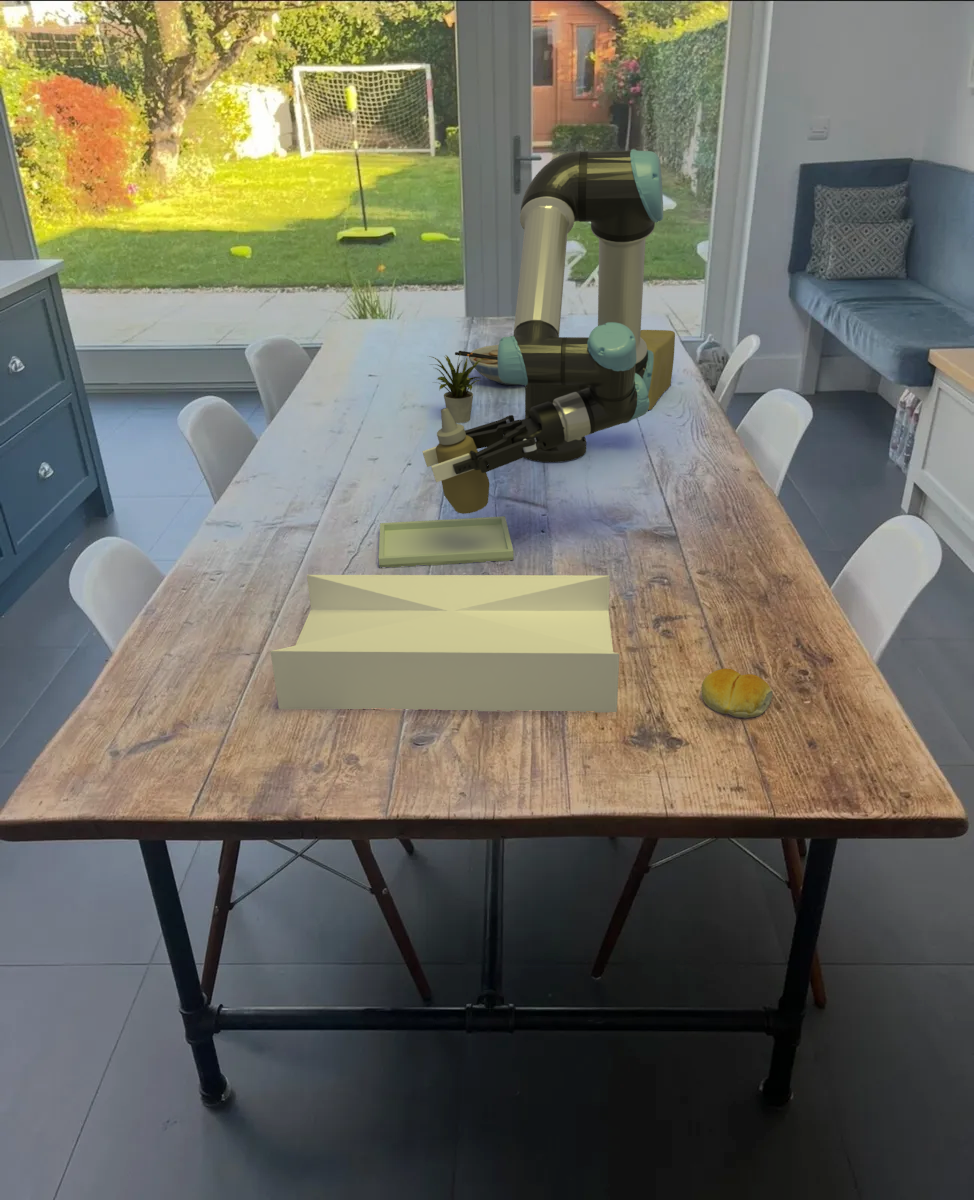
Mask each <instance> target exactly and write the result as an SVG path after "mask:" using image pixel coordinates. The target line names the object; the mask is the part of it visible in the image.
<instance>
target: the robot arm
mask: <svg viewBox="0 0 974 1200" xmlns="http://www.w3.org/2000/svg"><path fill="white" fill-rule="evenodd" d="M662 180H663V177H662V166H661V160H660V157H659V155H658V154H657V153H656V152H654V151H651V150H637V149H634V148H633V149H631V150H597V151H595V150H593V151H592V150H590V151H589V150H587V151H581V150H574V151H569V152H566V153H562V154H560V155H558V156H556V157H555V158H553V159H552V160H550V161H549V162H548V163H546V164H545V165H544V166H543V167H542V168H540V170H539V171H538V173H537V174H535V176H534V178H533V179H531V181H530V183H529V185H528V186H527V189H526V190H525V193H524V195H523V197H522V200H521V205H520V213H519V222H520V226H521V227H522V229H523V231H524V232H523V239H522V240H523V241H522V250H521V258H520V267H519V268H520V269H519V279H518V286H517V287H518V289H517V297H516V307H515V313H514V315H515V317H514V326H513V335H509V336H503V337H502V338H500V340H499V342H498V344H497V345H498V374H499V378H500V380H501V381H502V382H504V383H509V384H517V385H522V386H524V403H525V404H524V418H522V419H515V418H514V415H513V414H510V415H508V416H505V417H503V418H501V419H498V420H495V421H492V422H488V423H484V424H482V425H479V426H475V427H472V428H468V429H465V433H466V435H467V436H470V437H471V438H473V440H474V443H475V445H476V448H477V450H478V449H481V450H478V452H477V453H476V452H474V451H472V450H471V451H470V455H471V458H470V455H469V453H467V454H465V455H462V456H459V457H456V458H453V459H450V460H447V461H444V462H441V463H439V464H438V460H437V454H436V447H437V445H436V446H434V447H431V448H428V449H425V450H422V455H423V458H424V462H425V466H426V467H427V468H429V467H431V470H432V473H433V477H434V480H435V483H439V482H442V480H445V479H448V478H451V477H454V476H456V475H459V474H462V473H465V472H468V471H471V470H474V469H475V470H481V473H486V474H487V472H491V471H493V470H496V469H498V468H501V467H503V466H507V465H508V464H511V463H513V462H517V461H519V460H521V459H523V458H524V459H526V460H529V461H534V462H540V463H562V462H568V461H574V460H576V459H579V458H581V457H583V456H584V455H585V454H586V453H587V439H586V436H589V435H592V434H595V433H597V432H599V431H603V430H606V429H610V428H612V427H615V426H619V425H622V424H628V423H630V422H631V421H633V420H636V419H638V418H640V417H642V416H645V415H646V414H647V413H648V412H649V411H648V409H649V398H648V394H649V389H650V384H651V376H652V371H653V362H654V355H653V352H652V351H650V350H648V349H647V345H646V343H645V341H644V340H643V339H642V338H641V337H640V334H641V330H642V315H643V314H642V313H643V312H642V311H643V310H642V309H643V295H644V294H643V293H644V291H643V290H644V274H645V253H646V239H647V238H648V237H650V236H651V234H652V233H653V232H654V229H655V224H656V223H658V222H660V221H662V220H663V218H664V200H663V199H664V198H663V181H662ZM575 222H579V223H584V222H585V223H587V222H588V223H590V230H591V232H592V234H593V235H594V236H595V237H596V238H597V239H598V280H597V281H598V282H597V283H598V284H597V285H598V286H597V287H598V291H597V293H598V294H597V295H598V297H597V326H596V327H594V328H593V329H592V330H591V332H590V334H589V336H588V337H584V336H583V337H582V336H577V337H575V336H574V337H573V336H571V337H569V336H566V337H565V336H564V337H563V336H562V337H561V336H560V330H561V329H560V328H561V316H562V305H563V291H564V280H565V278H564V277H565V269H566V257H567V244H568V243H567V241H568V234H569V233H570V232H571V231H572V228H573V227H574V224H575Z"/></svg>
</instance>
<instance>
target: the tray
mask: <svg viewBox="0 0 974 1200" xmlns="http://www.w3.org/2000/svg"><path fill="white" fill-rule="evenodd" d="M378 539H379V543H378V566H379V567H392V568H402V567H401V566H410V567H417V566H416V565H427V566H442V565H458V564H459V563H462V564H474V563H473V562H479V563H487V562H486V561H496V562H509V560H515V559H514V549H513V544H512V540H511V535H510V531H509V526H508V522H507V519H506V516H503V515H501V516H488V517H485V516H484V517H469V518H448V519H435V520H434V519H433V520H416V521H415V520H414V521H413V520H412V521H398V522H397V521H394V522H392V521H391V522H381V523H379V538H378ZM459 565H460V564H459Z"/></svg>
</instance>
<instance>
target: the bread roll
mask: <svg viewBox="0 0 974 1200" xmlns="http://www.w3.org/2000/svg"><path fill="white" fill-rule="evenodd" d="M700 692H701V697H702V699H703V701H704V703H705V705H706V706H708V707H709V708H710V709H711V710H713V711H714V712H717V713H719V714H729V715H731V716H732V717H733V718H734V717H735V718H741V719H742V718H744V719H749V718H756V717H758V716H761V715H763V713H765V711H766V710H767V709H768V707H769V705H770V703H771V701H772V697H773V690H772V689H771V686H770V685H769V683H768V682H766V681H765V680H764V679H763V678H762V677H760V676H758V675H755V674H751V673H747V674H741V673H739V672H738V671H737V670H734V669H732V668H725V667H724V668H720V669H716V670H714V671H712V672H711V673H709V674H708V675H707V676H706V677H705V678H704V679H703V681H702V683H701V691H700Z"/></svg>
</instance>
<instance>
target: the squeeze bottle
mask: <svg viewBox="0 0 974 1200" xmlns="http://www.w3.org/2000/svg"><path fill="white" fill-rule="evenodd" d="M440 417H441V420H440V421H441V428H440V429H439V430H438V431H437V432H436V437H437V441H438V444H437V445H436V446H437V447H436V446H435V447H436V454H437V460H438V464H439V463H441V462H444V461H447V460H450V459H453V458H456V457H459V456H462V455H465V454H467V453H469V455H470V451H471V450H472V451H474V452H476V453H477V452H479V450H478V449H477V448H476V445H475V443H474V440H473V438H471V437H470V436H467V435H466V433H465V430H466V429H465V426H464V425H462V423H455V421H454V419H453V417H452V415H451V414H450V412H449V410H448V408H446V407H444V408H442V409H440ZM470 458H471V455H470ZM441 485H442V490H443V491H442V492H443V496H444V497H445V498H446V500H447V502H448V503H449V504H450V506H451V507H452V508H453V510H454V511H455V512H457V514H472V513H476V512H478V511H480V510H482V509H484V508H485V507H486V506H488V505H487V504H488V503H489V496H490V480H489V476H488V474H487V472H486V473H481V470H475V469H474V470H471V471H468V472H465V473H462V474H459V475H456V476H454V477H451V478H448V479H445V480H442V481H441Z"/></svg>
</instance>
